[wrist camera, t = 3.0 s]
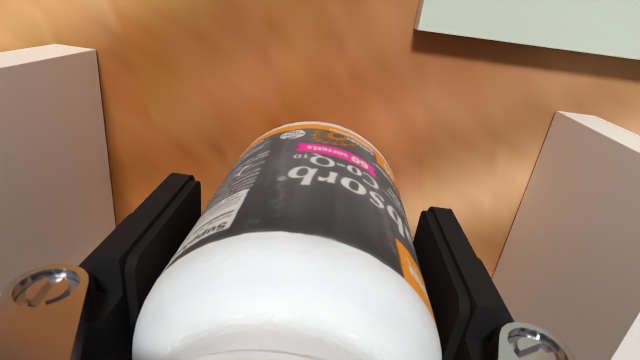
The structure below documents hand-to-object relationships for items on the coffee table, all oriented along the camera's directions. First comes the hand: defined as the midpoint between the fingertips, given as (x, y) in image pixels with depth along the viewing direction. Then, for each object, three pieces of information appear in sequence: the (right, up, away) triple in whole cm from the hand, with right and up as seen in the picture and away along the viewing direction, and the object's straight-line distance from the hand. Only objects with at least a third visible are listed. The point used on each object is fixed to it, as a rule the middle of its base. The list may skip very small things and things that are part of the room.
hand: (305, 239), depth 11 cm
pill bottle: (0, +1, +3) cm, 3 cm away
